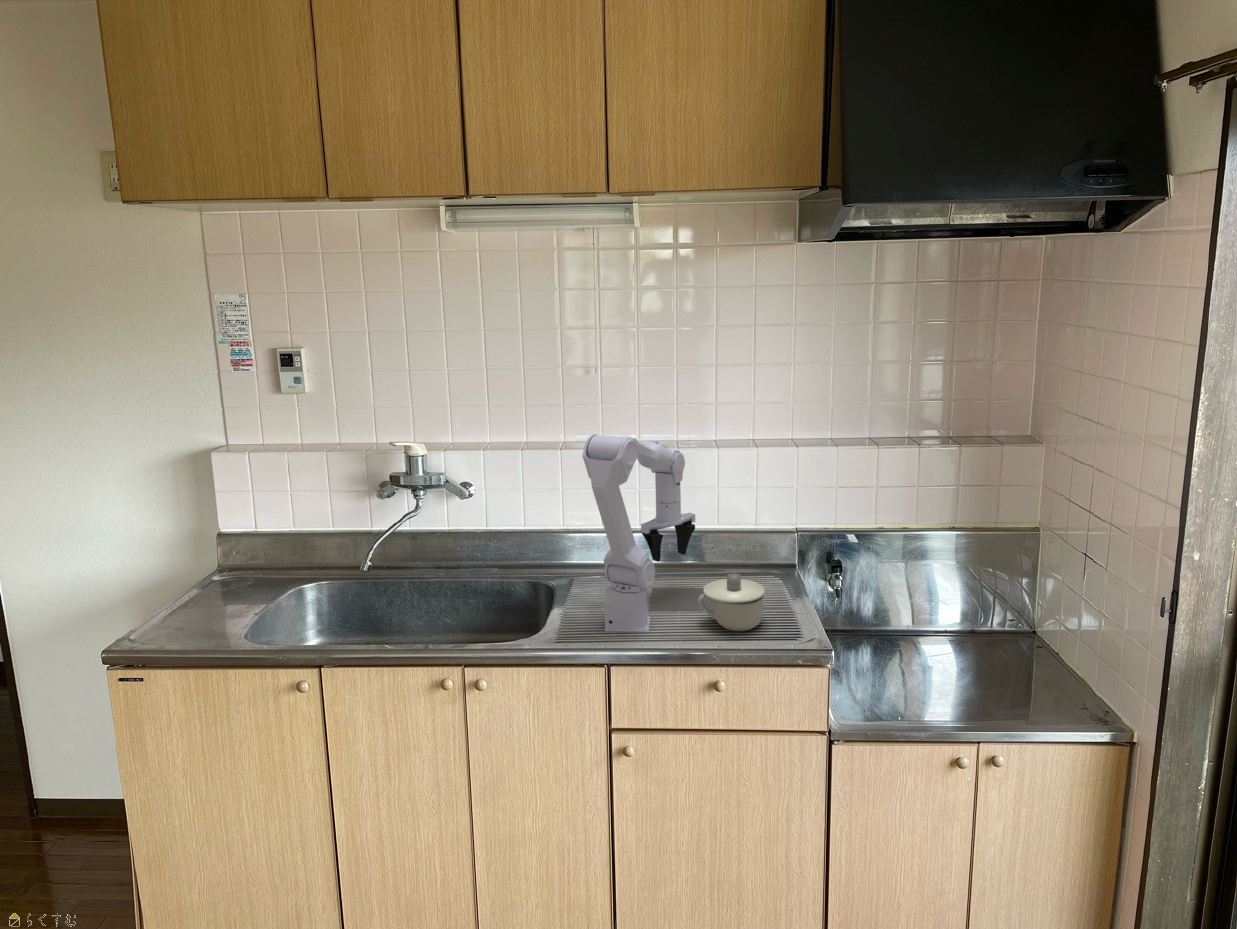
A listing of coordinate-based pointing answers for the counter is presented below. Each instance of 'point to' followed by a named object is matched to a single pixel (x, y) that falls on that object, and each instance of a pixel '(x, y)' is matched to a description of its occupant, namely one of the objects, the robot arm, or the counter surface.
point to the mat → (678, 599)
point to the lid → (733, 590)
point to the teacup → (735, 613)
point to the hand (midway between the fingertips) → (669, 556)
